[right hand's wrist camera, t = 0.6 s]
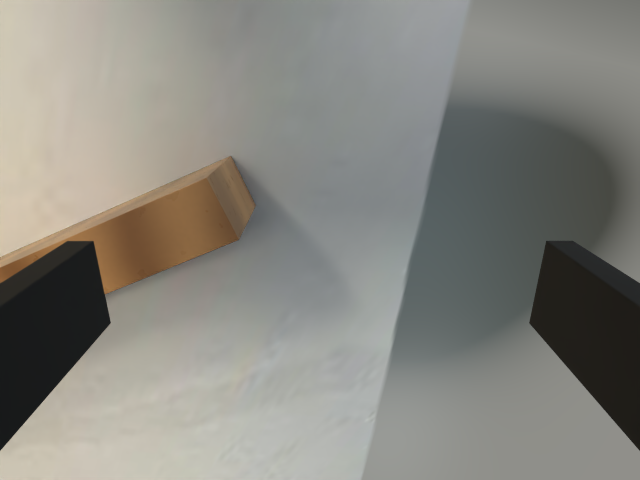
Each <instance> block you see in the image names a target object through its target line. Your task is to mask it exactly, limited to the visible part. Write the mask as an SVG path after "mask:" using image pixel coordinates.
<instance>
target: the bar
mask: <svg viewBox="0 0 640 480" xmlns="http://www.w3.org/2000/svg"><path fill="white" fill-rule="evenodd" d="M255 206H256V205H255V203H254V201H253V199H252V197H251V195H250V193H249V191H248V189H247V187H246V185H245V183H244V181H243V179H242V177H241V175H240V173H239V171H238V169H237V167H236V165H235V163H234V161H233V159H232V157H231V156H230V157H227V158H225V159H223V160H220V161H218V162H216V163H214V164H211V165H209V166H207V167H205V168H202V169H200V170H198V171H195V172H193V173H191V174H189V175H186V176H184V177H182V178H180V179H177V180H175V181H173V182H170V183H168V184H166V185H164V186H161V187H159V188H157V189H154V190H152V191H150V192H148V193H145V194H143V195H141V196H139V197H136V198H134V199H132V200H129V201H127V202H125V203H123V204H120V205H118V206H116V207H114V208H111V209H109V210H107V211H104V212H102V213H100V214H98V215H95V216H93V217H91V218H89V219H86V220H84V221H82V222H79V223H77V224H75V225H73V226H70V227H68V228H66V229H63V230H61V231H59V232H57V233H54V234H52V235H50V236H48V237H45V238H43V239H41V240H38V241H36V242H34V243H32V244H29V245H27V246H25V247H23V248H20V249H18V250H16V251H13V252H11V253H9V254H7V255H4V256H2V257H0V283H2V282H3V281H5V280H6V279H8V278H9V277H11V276H13V275H14V274H16V273H17V272H19V271H20V270H22V269H24V268H25V267H27V266H28V265H30V264H32V263H33V262H35V261H36V260H38V259H39V258H41V257H43V256H44V255H46V254H47V253H49V252H51V251H52V250H54V249H55V248H57V247H58V246H60V245H62V244H63V243H65V242H66V241H94V245H95V250H96V255H97V260H98V264H99V269H100V274H101V279H102V284H103V289H104V293H105V294H107V293H109V292H112V291H114V290H117V289H119V288H122V287H124V286H127V285H129V284H132V283H134V282H136V281H139V280H141V279H144V278H146V277H149V276H151V275H154V274H156V273H159V272H161V271H163V270H166V269H168V268H171V267H173V266H176V265H178V264H181V263H183V262H186V261H188V260H191V259H193V258H195V257H198V256H200V255H203V254H205V253H208V252H210V251H213V250H215V249H218V248H220V247H222V246H225V245H227V244H230V243H232V242H235V241H237V240H239V239H240V237H241V235H242V233H243V230H244V228H245V226H246V224H247V222H248V220H249V218H250V216H251V214H252V212H253V210H254V208H255Z"/></svg>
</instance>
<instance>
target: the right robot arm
mask: <svg viewBox="0 0 640 480" xmlns="http://www.w3.org/2000/svg"><path fill="white" fill-rule="evenodd" d="M110 323H111V322H110V317H109V313H108V308H107V303H106V298H105V293H104V289H103V284H102V279H101V274H100V269H99V264H98V260H97V255H96V250H95V245H94V241H66V242H65V243H63V244H62V245H60V246H58V247H57V248H55V249H54V250H52V251H51V252H49V253H47V254H46V255H44V256H43V257H41V258H39V259H38V260H36V261H35V262H33V263H32V264H30V265H28V266H27V267H25V268H24V269H22V270H20V271H19V272H17V273H16V274H14V275H13V276H11V277H9V278H8V279H6V280H5V281H3V282H2V283H0V450H1V449H2V448H3V447H4V446H5V445H6V443H7V442H8V441H9V440H10V439H11V438H12V437H13V435H14V434H15V433H16V432H17V431H18V430H19V428H20V427H21V426H22V425H23V424H24V423H25V421H26V420H27V419H28V418H29V417H30V416H31V415H32V413H33V412H34V411H35V410H36V409H37V408H38V406H39V405H40V404H41V403H42V402H43V401H44V400H45V398H46V397H47V396H48V395H49V394H50V393H51V391H52V390H53V389H54V388H55V387H56V386H57V384H58V383H59V382H60V381H61V380H62V379H63V378H64V376H65V375H66V374H67V373H68V372H69V371H70V369H71V368H72V367H73V366H74V365H75V364H76V363H77V361H78V360H79V359H80V358H81V357H82V356H83V354H84V353H85V352H86V351H87V350H88V349H89V348H90V346H91V345H92V344H93V343H94V342H95V341H96V339H97V338H98V337H99V336H100V335H101V334H102V332H103V331H104V330H105V329H106V328H107V327H108V326H109V324H110ZM529 323H530V324H531V326H532V327H533V328H534V329H535V330H536V331H537V332H538V334H539V335H540V336H541V337H542V338H543V339H544V341H545V342H546V343H547V344H548V345H549V346H550V347H551V349H552V350H553V351H554V352H555V353H556V354H557V356H558V357H559V358H560V359H561V360H562V361H563V362H564V364H565V365H566V366H567V367H568V368H569V369H570V371H571V372H572V373H573V374H574V375H575V376H576V378H577V379H578V380H579V381H580V382H581V383H582V384H583V386H584V387H585V388H586V389H587V390H588V391H589V393H590V394H591V395H592V396H593V397H594V398H595V400H596V401H597V402H598V403H599V404H600V405H601V406H602V408H603V409H604V410H605V411H606V412H607V413H608V415H609V416H610V417H611V418H612V419H613V420H614V421H615V423H616V424H617V425H618V426H619V427H620V428H621V430H622V431H623V432H624V433H625V434H626V435H627V436H628V438H629V439H630V440H631V441H632V442H633V443H634V445H635V446H636V447H637V448H638V449H639V450H640V283H638V282H637V281H635V280H634V279H632V278H631V277H629V276H627V275H626V274H624V273H623V272H621V271H620V270H618V269H616V268H615V267H613V266H612V265H610V264H608V263H607V262H605V261H604V260H602V259H601V258H599V257H597V256H596V255H594V254H593V253H591V252H589V251H588V250H586V249H585V248H583V247H582V246H580V245H578V244H577V243H575V242H574V241H546V245H545V250H544V255H543V260H542V264H541V269H540V274H539V279H538V284H537V289H536V293H535V298H534V303H533V308H532V313H531V317H530V322H529Z"/></svg>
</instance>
